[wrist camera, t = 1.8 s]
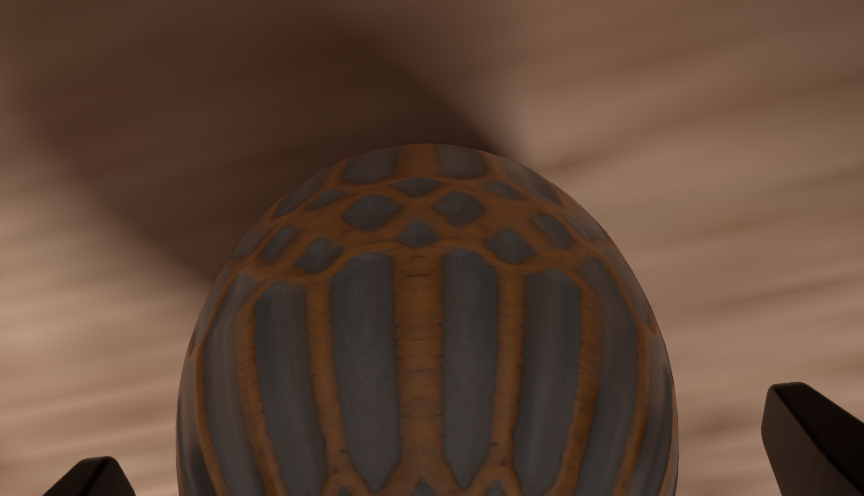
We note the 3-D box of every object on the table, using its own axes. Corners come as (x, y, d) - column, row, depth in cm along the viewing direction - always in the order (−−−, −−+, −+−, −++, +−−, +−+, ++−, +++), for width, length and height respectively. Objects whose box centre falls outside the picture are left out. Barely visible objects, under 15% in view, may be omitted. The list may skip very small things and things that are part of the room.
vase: (282, 400, 15) (158, 952, 8) (200, 102, 12) (-168, 630, 4) (597, 377, 15) (764, 924, 8) (617, 67, 11) (972, 559, 4)
